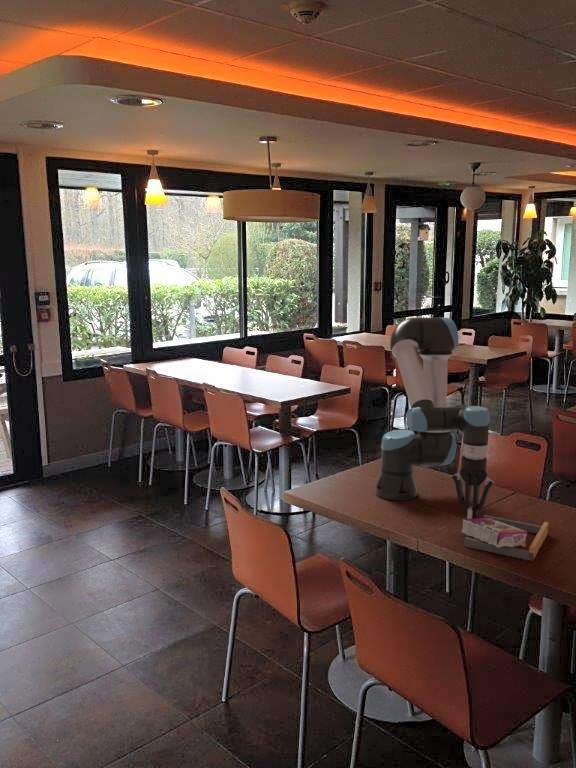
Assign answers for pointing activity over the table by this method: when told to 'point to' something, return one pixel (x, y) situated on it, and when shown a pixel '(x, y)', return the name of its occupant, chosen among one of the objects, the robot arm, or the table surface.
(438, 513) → the table surface
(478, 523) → the candy bar box
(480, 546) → the u-shaped frame
